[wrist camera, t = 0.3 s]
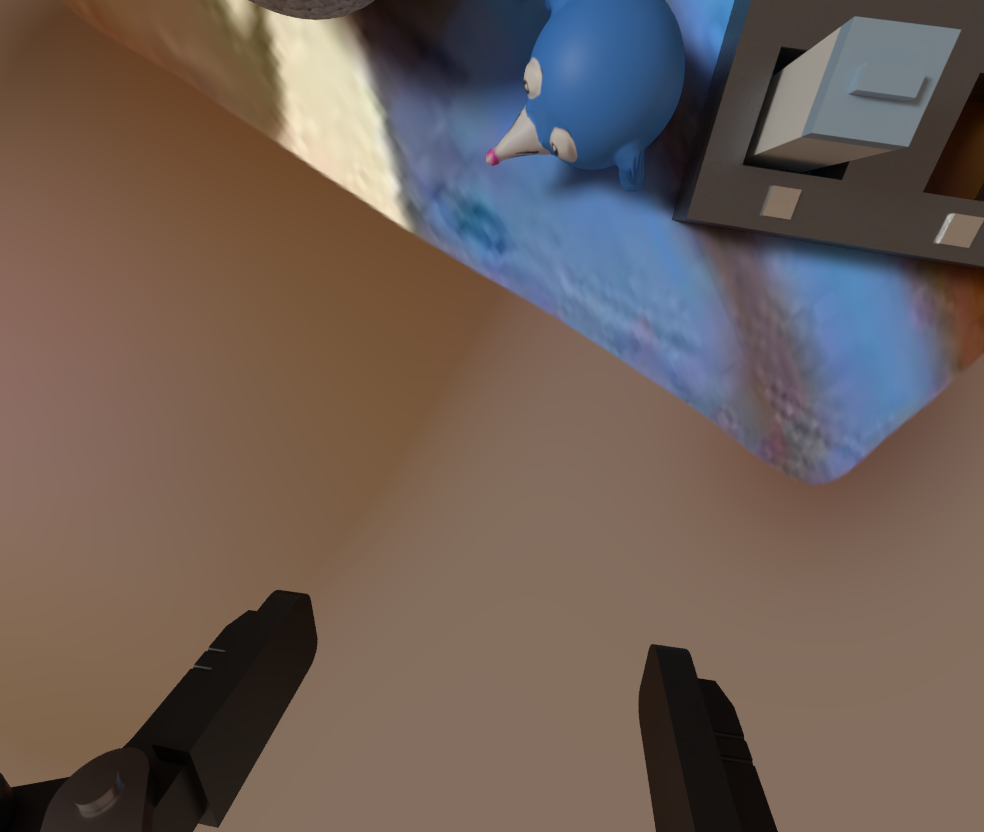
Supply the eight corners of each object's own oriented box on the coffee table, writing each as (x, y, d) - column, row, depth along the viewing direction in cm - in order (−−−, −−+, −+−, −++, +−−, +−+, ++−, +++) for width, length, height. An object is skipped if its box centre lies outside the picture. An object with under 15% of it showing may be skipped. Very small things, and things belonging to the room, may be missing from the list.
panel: (734, -1, 27) (763, -39, 23) (1101, 45, 25) (1198, 12, 21) (671, 219, 31) (687, 218, 27) (976, 269, 30) (1038, 274, 26)
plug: (759, 86, 28) (863, 9, 18) (829, 95, 28) (973, 23, 18) (734, 162, 30) (818, 130, 20) (800, 172, 29) (918, 144, 20)
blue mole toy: (452, 82, 30) (414, 32, 22) (621, -46, 27) (645, -158, 19) (535, 249, 33) (527, 255, 26) (696, 155, 30) (742, 129, 22)
